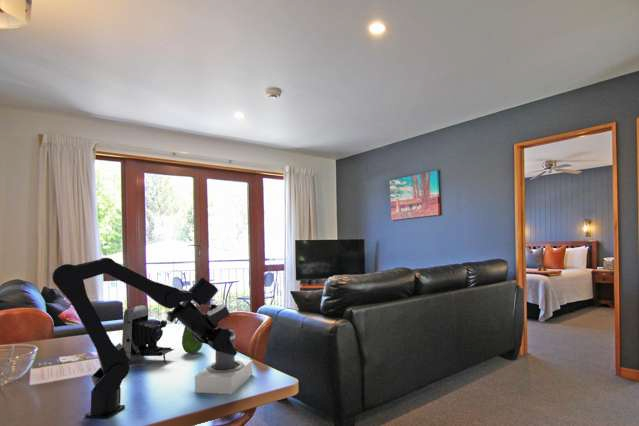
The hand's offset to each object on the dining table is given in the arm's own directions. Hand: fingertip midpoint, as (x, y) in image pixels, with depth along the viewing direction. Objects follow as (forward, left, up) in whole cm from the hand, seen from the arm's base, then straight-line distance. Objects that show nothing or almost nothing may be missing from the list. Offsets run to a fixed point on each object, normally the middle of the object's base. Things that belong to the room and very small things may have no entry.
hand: (229, 350), depth 114 cm
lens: (-1, +1, -8) cm, 8 cm away
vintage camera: (+16, +38, -9) cm, 43 cm away
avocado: (+27, +27, -9) cm, 40 cm away
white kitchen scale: (-1, +1, -9) cm, 9 cm away
